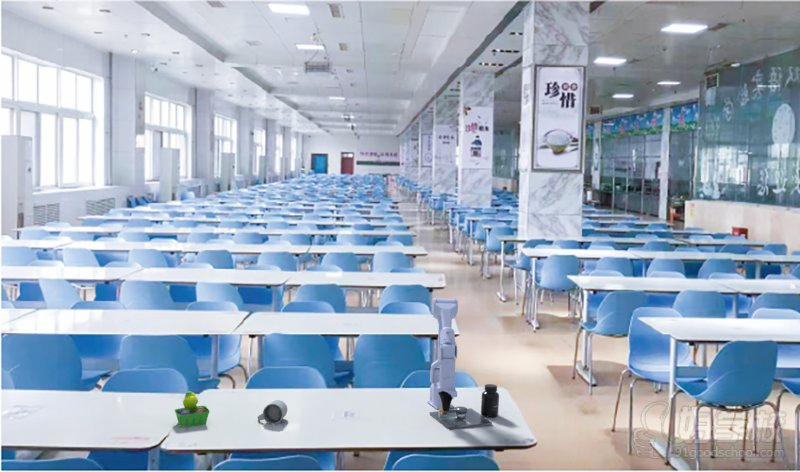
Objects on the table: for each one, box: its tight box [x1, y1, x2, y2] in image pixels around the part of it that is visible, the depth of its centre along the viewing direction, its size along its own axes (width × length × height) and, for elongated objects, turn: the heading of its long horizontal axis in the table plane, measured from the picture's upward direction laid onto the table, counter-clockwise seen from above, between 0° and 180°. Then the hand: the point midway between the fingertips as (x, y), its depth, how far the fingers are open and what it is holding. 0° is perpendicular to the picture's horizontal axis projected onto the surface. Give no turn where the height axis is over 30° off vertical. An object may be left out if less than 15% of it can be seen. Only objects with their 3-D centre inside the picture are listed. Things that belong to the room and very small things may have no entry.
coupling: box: [441, 403, 468, 415], centre depth 298 cm, size 11×5×4 cm, turn 110°
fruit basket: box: [174, 391, 211, 428], centre depth 285 cm, size 11×9×11 cm
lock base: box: [429, 408, 493, 430], centre depth 299 cm, size 18×18×4 cm
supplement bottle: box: [480, 383, 500, 419], centre depth 305 cm, size 7×7×12 cm
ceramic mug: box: [257, 399, 288, 425], centre depth 291 cm, size 11×8×8 cm
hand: (445, 410), depth 295 cm, fingers closed
